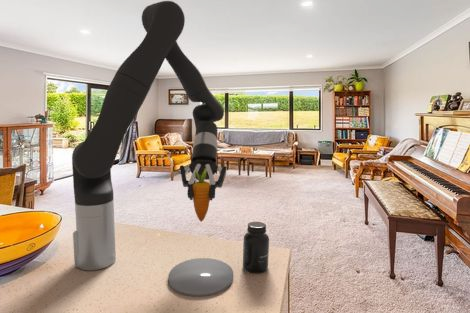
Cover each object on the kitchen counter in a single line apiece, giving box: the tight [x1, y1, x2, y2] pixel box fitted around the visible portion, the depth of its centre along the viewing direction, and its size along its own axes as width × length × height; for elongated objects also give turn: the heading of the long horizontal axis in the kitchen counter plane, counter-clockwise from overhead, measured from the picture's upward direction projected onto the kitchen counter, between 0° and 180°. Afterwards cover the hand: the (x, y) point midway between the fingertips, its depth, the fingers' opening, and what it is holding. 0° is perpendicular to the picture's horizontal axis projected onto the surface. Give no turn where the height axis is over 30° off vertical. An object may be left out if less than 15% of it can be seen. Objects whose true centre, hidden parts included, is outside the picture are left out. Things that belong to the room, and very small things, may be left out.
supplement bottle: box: [242, 221, 270, 274], centre depth 76 cm, size 7×7×12 cm
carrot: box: [192, 168, 211, 222], centre depth 80 cm, size 5×5×15 cm
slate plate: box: [168, 257, 234, 297], centre depth 72 cm, size 16×16×1 cm
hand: (201, 198), depth 78 cm, fingers closed on carrot, 4 cm apart
